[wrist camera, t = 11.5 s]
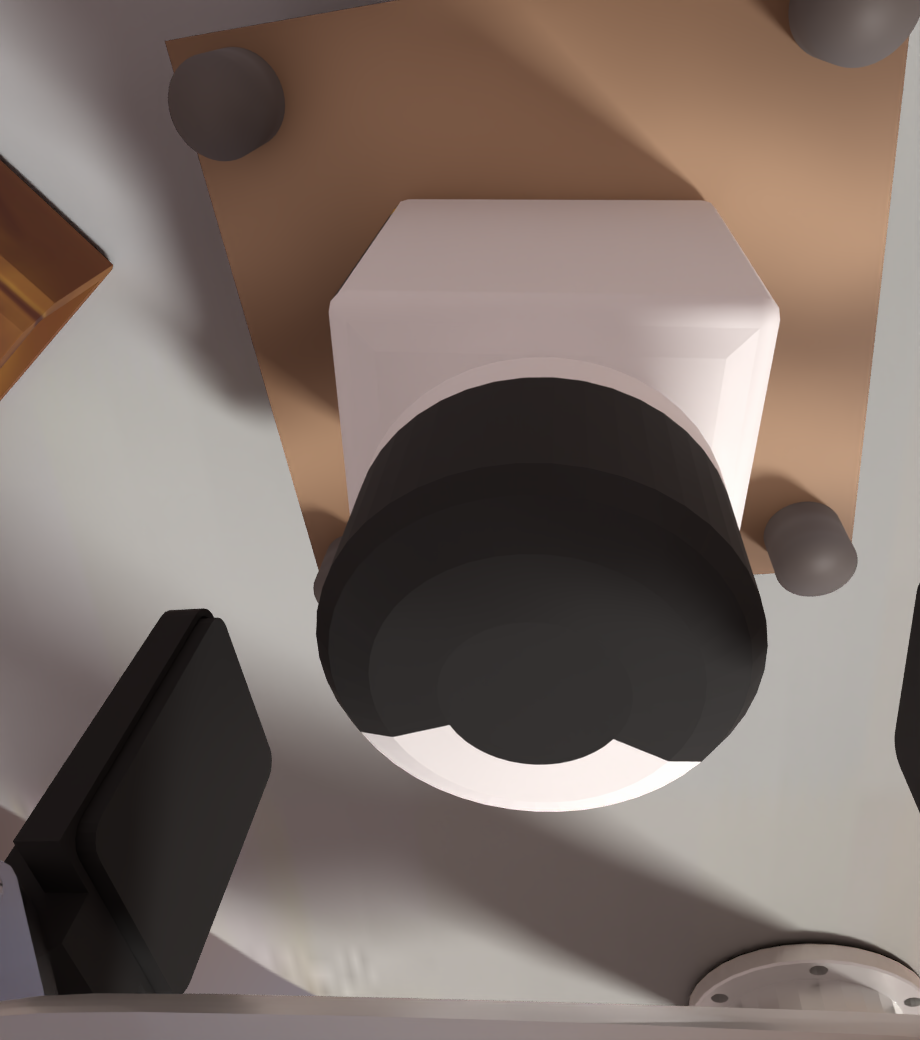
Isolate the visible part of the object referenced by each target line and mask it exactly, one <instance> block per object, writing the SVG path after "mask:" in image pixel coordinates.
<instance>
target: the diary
mask: <svg viewBox="0 0 920 1040" xmlns="http://www.w3.org/2000/svg"><path fill="white" fill-rule="evenodd" d="M112 268H113V264H112V263H110V262H109V261H108V260H107V259H106V258H105V257H104V256H103V255H102V254H101V253H100V252H99V251H98V250H97V249H95V248H94V247H93V246H92V245H91V244H90V243H89V242H88V241H87V240H86V239H85V238H84V237H83V236H82V235H80V234H79V233H78V232H77V231H76V230H75V229H74V228H73V227H72V226H71V225H70V224H69V223H68V222H66V221H65V220H64V219H63V218H62V217H61V216H60V215H59V214H58V213H57V212H56V211H55V210H54V209H53V208H51V207H50V206H49V205H48V204H47V203H46V202H45V201H44V200H43V199H42V198H41V197H40V196H39V195H37V194H36V193H35V192H34V191H33V190H32V189H31V188H30V187H29V186H28V185H27V184H26V183H25V182H24V181H22V180H21V179H20V178H19V177H18V176H17V175H16V174H15V173H14V172H13V171H12V170H11V169H10V168H9V167H7V166H6V165H5V164H4V163H3V162H2V161H1V160H0V401H1V399H2V398H3V397H4V396H5V395H6V394H7V392H8V391H9V390H10V389H11V388H12V387H13V385H14V384H15V383H16V382H17V381H18V379H19V378H20V377H21V376H22V375H23V374H24V372H25V371H26V370H27V369H28V368H29V367H30V365H31V364H32V363H33V362H34V361H35V359H36V358H37V357H38V356H39V355H40V354H41V352H42V351H43V350H44V349H45V348H46V347H47V345H48V344H49V343H50V342H51V341H52V339H53V338H54V337H55V336H56V335H57V334H58V332H59V331H60V330H61V329H62V328H63V327H64V325H65V324H66V323H67V322H68V321H69V319H70V318H71V317H72V316H73V315H74V314H75V312H76V311H77V310H78V309H79V308H80V306H81V305H82V304H83V303H84V302H85V301H86V299H87V298H88V297H89V296H90V295H91V294H92V292H93V291H94V290H95V289H96V288H97V286H98V285H99V284H100V283H101V282H102V281H103V279H104V278H105V277H106V276H107V275H108V274H109V272H110V271H111V270H112Z"/></svg>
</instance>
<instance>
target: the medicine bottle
mask: <svg viewBox="0 0 920 1040" xmlns="http://www.w3.org/2000/svg"><path fill="white" fill-rule="evenodd" d="M329 321H330V330H331V340H332V349H333V359H334V368H335V378H336V388H337V397H338V407H339V416H340V426H341V435H342V445H343V454H344V464H345V473H346V483H347V493H348V502H349V512H350V517H349V520H348V522H347V525H346V527H345V530H344V533H343V535H342V538H341V540H340V543H339V546H338V548H337V551H336V553H335V556H334V559H333V561H332V564H331V566H330V569H329V572H328V574H327V577H326V579H325V582H324V585H323V587H322V591H321V596H320V600H319V605H318V609H317V627H316V637H317V644H318V651H319V658H320V661H321V664H322V667H323V670H324V673H325V676H326V679H327V681H328V683H329V685H330V687H331V689H332V691H333V693H334V695H335V697H336V699H337V701H338V702H339V704H340V705H341V707H342V708H343V710H344V711H345V712H346V714H347V715H348V717H349V718H350V719H351V721H352V722H353V723H354V724H355V726H356V727H357V728H358V729H359V730H360V732H361V733H362V734H363V735H364V736H365V737H366V738H367V739H368V740H369V741H370V742H371V743H372V745H373V746H374V747H375V748H376V749H377V750H379V751H380V752H381V753H382V754H383V755H385V756H386V757H387V758H388V759H389V760H391V761H392V762H393V763H394V764H396V765H397V766H399V767H400V768H402V769H403V770H405V771H406V772H408V773H409V774H411V775H412V776H414V777H416V778H418V779H420V780H421V781H423V782H425V783H427V784H429V785H431V786H433V787H435V788H437V789H440V790H442V791H445V792H447V793H450V794H453V795H455V796H458V797H460V798H464V799H467V800H471V801H474V802H478V803H481V804H485V805H490V806H496V807H501V808H506V809H513V810H524V811H535V812H563V811H574V810H585V809H592V808H597V807H602V806H608V805H613V804H616V803H620V802H623V801H627V800H630V799H633V798H637V797H639V796H642V795H644V794H647V793H649V792H651V791H654V790H656V789H659V788H661V787H663V786H665V785H666V784H668V783H670V782H672V781H674V780H675V779H677V778H679V777H681V776H682V775H684V774H685V773H687V772H688V771H689V770H691V769H692V768H693V767H695V766H696V765H698V764H699V763H700V762H702V761H703V760H704V759H705V758H706V757H707V756H708V755H709V754H710V753H711V752H712V751H713V750H714V749H715V748H716V747H717V746H718V745H719V744H720V743H721V742H722V741H723V740H724V739H725V738H727V737H728V736H729V735H730V733H731V732H732V731H733V730H734V728H735V727H736V726H737V724H738V723H739V722H740V721H741V719H742V718H743V717H744V715H745V714H746V712H747V710H748V708H749V706H750V705H751V703H752V701H753V699H754V697H755V695H756V693H757V691H758V688H759V685H760V682H761V679H762V676H763V673H764V669H765V661H766V654H767V647H768V643H767V625H766V618H765V614H764V610H763V606H762V602H761V598H760V594H759V591H758V588H757V585H756V581H755V578H754V575H753V572H752V569H751V566H750V562H749V559H748V556H747V553H746V550H745V547H744V543H743V540H742V537H741V534H740V527H741V522H742V516H743V511H744V506H745V501H746V496H747V490H748V485H749V480H750V475H751V469H752V464H753V459H754V454H755V449H756V443H757V438H758V433H759V428H760V423H761V417H762V412H763V407H764V402H765V396H766V391H767V386H768V381H769V376H770V370H771V365H772V360H773V355H774V349H775V344H776V339H777V334H778V329H779V323H780V313H779V307H778V306H777V304H776V302H775V301H774V299H773V298H772V296H771V295H770V293H769V291H768V290H767V288H766V287H765V285H764V284H763V282H762V280H761V279H760V277H759V276H758V274H757V273H756V271H755V269H754V268H753V266H752V265H751V263H750V262H749V260H748V258H747V257H746V255H745V254H744V252H743V251H742V249H741V247H740V246H739V244H738V243H737V241H736V240H735V238H734V236H733V235H732V233H731V232H730V230H729V229H728V227H727V225H726V224H725V222H724V221H723V219H722V218H721V216H720V214H719V213H718V211H717V210H716V208H715V207H714V206H713V205H712V204H711V203H710V202H706V201H703V200H490V199H408V200H404V201H401V202H400V203H399V204H398V205H397V206H396V207H395V209H394V210H393V212H392V213H391V214H390V216H389V217H388V219H387V220H386V222H385V223H384V225H383V226H382V227H381V229H380V230H379V232H378V233H377V235H376V236H375V238H374V239H373V240H372V242H371V243H370V245H369V246H368V248H367V249H366V251H365V252H364V253H363V255H362V256H361V258H360V259H359V261H358V262H357V264H356V265H355V267H354V268H353V269H352V271H351V272H350V274H349V275H348V277H347V278H346V280H345V281H344V282H343V284H342V285H341V287H340V288H339V290H338V291H337V293H336V294H335V295H334V297H333V298H332V300H331V301H330V307H329Z"/></svg>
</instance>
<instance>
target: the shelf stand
mask: <svg viewBox="0 0 920 1040" xmlns="http://www.w3.org/2000/svg"><path fill="white" fill-rule="evenodd" d="M919 17H920V0H395V1H389V2H384V3H378V4H372V5H366V6H361V7H355V8H349V9H344V10H338V11H332V12H327V13H321V14H315V15H309V16H304V17H298V18H292V19H287V20H281V21H275V22H270V23H264V24H258V25H252V26H247V27H241V28H235V29H230V30H224V31H218V32H213V33H207V34H201V35H195V36H190V37H184V38H179V39H174V40H168V41H165V44H166V47H167V51H168V54H169V57H170V61H171V64H172V68H173V71H174V74H173V77H172V79H171V82H170V86H169V92H168V104H169V111H170V115H171V118H172V121H173V123H174V125H175V127H176V130H177V131H178V133H179V134H180V136H181V137H182V138H183V140H184V141H185V142H186V143H187V144H188V145H189V146H190V147H191V148H192V149H193V150H195V151H196V152H197V154H198V157H199V161H200V164H201V167H202V171H203V174H204V178H205V181H206V185H207V188H208V191H209V195H210V198H211V202H212V205H213V209H214V212H215V216H216V219H217V222H218V226H219V229H220V233H221V236H222V240H223V243H224V246H225V250H226V253H227V257H228V260H229V264H230V267H231V270H232V274H233V277H234V281H235V284H236V288H237V291H238V295H239V298H240V301H241V305H242V308H243V312H244V315H245V319H246V322H247V325H248V329H249V332H250V336H251V339H252V343H253V346H254V350H255V353H256V356H257V360H258V363H259V367H260V370H261V374H262V377H263V380H264V384H265V387H266V391H267V394H268V398H269V401H270V405H271V408H272V411H273V415H274V418H275V422H276V425H277V429H278V432H279V435H280V439H281V442H282V446H283V449H284V453H285V456H286V459H287V463H288V466H289V470H290V473H291V477H292V480H293V484H294V487H295V490H296V494H297V497H298V501H299V504H300V508H301V511H302V514H303V518H304V521H305V525H306V528H307V532H308V535H309V539H310V542H311V545H312V549H313V552H314V556H315V559H316V563H317V566H318V569H319V572H318V574H317V577H316V579H315V582H314V595H315V598H316V600H317V602H318V603H319V600H320V596H321V591H322V587H323V585H324V582H325V579H326V577H327V574H328V572H329V569H330V566H331V564H332V561H333V559H334V556H335V553H336V551H337V548H338V546H339V543H340V540H341V538H342V535H343V533H344V530H345V527H346V525H347V522H348V520H349V517H350V512H349V502H348V493H347V483H346V473H345V464H344V454H343V445H342V435H341V426H340V416H339V407H338V397H337V388H336V378H335V368H334V359H333V349H332V340H331V330H330V321H329V307H330V301H331V300H332V298H333V297H334V295H335V294H336V293H337V291H338V290H339V288H340V287H341V285H342V284H343V282H344V281H345V280H346V278H347V277H348V275H349V274H350V272H351V271H352V269H353V268H354V267H355V265H356V264H357V262H358V261H359V259H360V258H361V256H362V255H363V253H364V252H365V251H366V249H367V248H368V246H369V245H370V243H371V242H372V240H373V239H374V238H375V236H376V235H377V233H378V232H379V230H380V229H381V227H382V226H383V225H384V223H385V222H386V220H387V219H388V217H389V216H390V214H391V213H392V212H393V210H394V209H395V207H396V206H397V205H398V204H399V203H400V202H401V201H404V200H408V199H490V200H703V201H706V202H710V203H711V204H712V205H713V206H714V207H715V208H716V210H717V211H718V213H719V214H720V216H721V218H722V219H723V221H724V222H725V224H726V225H727V227H728V229H729V230H730V232H731V233H732V235H733V236H734V238H735V240H736V241H737V243H738V244H739V246H740V247H741V249H742V251H743V252H744V254H745V255H746V257H747V258H748V260H749V262H750V263H751V265H752V266H753V268H754V269H755V271H756V273H757V274H758V276H759V277H760V279H761V280H762V282H763V284H764V285H765V287H766V288H767V290H768V291H769V293H770V295H771V296H772V298H773V299H774V301H775V302H776V304H777V306H778V307H779V313H780V323H779V329H778V334H777V339H776V344H775V349H774V355H773V360H772V365H771V370H770V376H769V381H768V386H767V391H766V396H765V402H764V407H763V412H762V417H761V423H760V428H759V433H758V438H757V443H756V449H755V454H754V459H753V464H752V469H751V475H750V480H749V485H748V490H747V496H746V501H745V506H744V511H743V516H742V522H741V527H740V534H741V537H742V540H743V543H744V547H745V550H746V553H747V556H748V559H749V562H750V566H751V569H752V572H753V574H769V573H775V575H776V577H777V580H778V581H779V583H780V584H781V585H782V587H784V588H785V589H786V590H788V591H789V592H791V593H793V594H797V595H801V596H820V595H825V594H828V593H831V592H833V591H835V590H837V589H839V588H840V587H842V586H843V585H844V584H846V583H847V582H848V581H849V580H850V578H851V577H852V576H853V574H854V572H855V570H856V567H857V554H856V551H855V549H854V547H853V545H852V534H853V525H854V517H855V508H856V499H857V490H858V481H859V473H860V464H861V455H862V446H863V437H864V429H865V420H866V411H867V402H868V393H869V385H870V376H871V367H872V358H873V349H874V341H875V332H876V323H877V314H878V305H879V296H880V288H881V279H882V270H883V261H884V252H885V244H886V235H887V226H888V217H889V208H890V200H891V191H892V182H893V173H894V164H895V156H896V147H897V138H898V129H899V120H900V112H901V103H902V94H903V85H904V76H905V67H906V59H907V50H908V41H909V35H910V33H911V32H912V30H913V29H914V27H915V25H916V23H917V22H918V19H919Z"/></svg>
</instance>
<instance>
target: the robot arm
mask: <svg viewBox="0 0 920 1040" xmlns="http://www.w3.org/2000/svg"><path fill="white" fill-rule="evenodd" d="M895 750H896V755H897V759H898V762H899V765H900V768H901V770H902V772H903V775H904V777H905V779H906V782H907V784H908V786H909V789H910V791H911V793H912V796H913V798H914V800H915V803H916V805H917V807H918V810H919V812H920V584H919V586H918V589H917V594H916V600H915V607H914V613H913V620H912V626H911V633H910V639H909V646H908V652H907V659H906V665H905V672H904V678H903V685H902V691H901V698H900V704H899V711H898V717H897V723H896V730H895ZM271 763H272V758H271V751H270V747H269V745H268V742H267V739H266V736H265V733H264V731H263V728H262V725H261V722H260V719H259V717H258V714H257V711H256V708H255V706H254V703H253V700H252V697H251V694H250V692H249V689H248V686H247V683H246V681H245V678H244V675H243V672H242V669H241V667H240V664H239V661H238V658H237V655H236V653H235V650H234V647H233V644H232V642H231V639H230V636H229V633H228V630H227V628H226V625H225V623H224V621H223V620H222V619H220V618H214V617H213V615H212V613H211V612H210V611H209V610H207V609H186V610H170V611H167V612H165V613H164V614H163V615H162V616H161V618H160V619H159V621H158V622H157V624H156V625H155V627H154V628H153V630H152V631H151V633H150V634H149V636H148V637H147V639H146V640H145V642H144V643H143V645H142V646H141V648H140V649H139V651H138V652H137V654H136V655H135V657H134V658H133V660H132V662H131V663H130V665H129V666H128V668H127V669H126V671H125V672H124V674H123V675H122V677H121V678H120V680H119V681H118V683H117V684H116V686H115V687H114V689H113V690H112V692H111V693H110V695H109V696H108V698H107V699H106V701H105V703H104V704H103V706H102V707H101V709H100V710H99V712H98V713H97V715H96V716H95V718H94V719H93V721H92V722H91V724H90V725H89V727H88V728H87V730H86V731H85V733H84V734H83V736H82V737H81V739H80V740H79V742H78V743H77V745H76V747H75V748H74V750H73V751H72V753H71V754H70V756H69V757H68V759H67V760H66V762H65V763H64V765H63V766H62V768H61V769H60V771H59V772H58V774H57V775H56V777H55V778H54V780H53V781H52V783H51V784H50V786H49V788H48V789H47V791H46V792H45V794H44V795H43V797H42V798H41V800H40V801H39V803H38V804H37V806H36V807H35V809H34V810H33V812H32V813H31V815H30V816H29V818H28V819H27V821H26V822H25V824H24V826H23V827H22V829H21V830H20V832H19V833H18V835H17V836H16V838H15V839H14V841H13V842H14V844H15V846H14V848H13V849H12V851H11V852H10V854H9V856H8V857H7V858H6V860H5V861H4V862H3V861H1V860H0V1040H920V978H919V977H918V976H917V975H916V974H915V973H914V972H913V971H911V970H910V969H908V968H907V967H905V966H903V965H902V964H900V963H899V962H897V961H894V960H892V959H890V958H887V957H885V956H883V955H880V954H878V953H874V952H870V951H867V950H863V949H859V948H855V947H848V946H841V945H834V944H810V943H808V944H793V945H782V946H777V947H771V948H765V949H760V950H757V951H754V952H750V953H747V954H744V955H740V956H738V957H736V958H734V959H732V960H729V961H727V962H725V963H723V964H721V965H720V966H718V967H717V968H715V969H714V970H712V971H711V972H709V973H708V974H707V975H706V976H705V977H704V978H703V979H702V980H701V981H700V982H699V983H698V984H697V985H696V987H695V989H694V991H693V992H692V994H691V996H690V1000H689V1006H667V1005H636V1004H601V1003H565V1002H530V1001H494V1000H456V999H418V998H378V997H333V996H287V995H240V994H183V993H184V991H185V990H186V989H187V987H188V985H189V983H190V981H191V978H192V975H193V973H194V970H195V968H196V965H197V963H198V960H199V957H200V955H201V952H202V949H203V947H204V944H205V942H206V939H207V937H208V934H209V931H210V929H211V926H212V924H213V921H214V918H215V916H216V913H217V911H218V908H219V905H220V903H221V900H222V898H223V895H224V892H225V890H226V887H227V885H228V882H229V880H230V877H231V874H232V872H233V869H234V867H235V864H236V861H237V859H238V856H239V854H240V851H241V848H242V846H243V843H244V841H245V838H246V835H247V833H248V830H249V828H250V825H251V822H252V820H253V817H254V815H255V812H256V809H257V807H258V804H259V802H260V799H261V796H262V794H263V791H264V789H265V786H266V784H267V781H268V778H269V775H270V772H271Z"/></svg>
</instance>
